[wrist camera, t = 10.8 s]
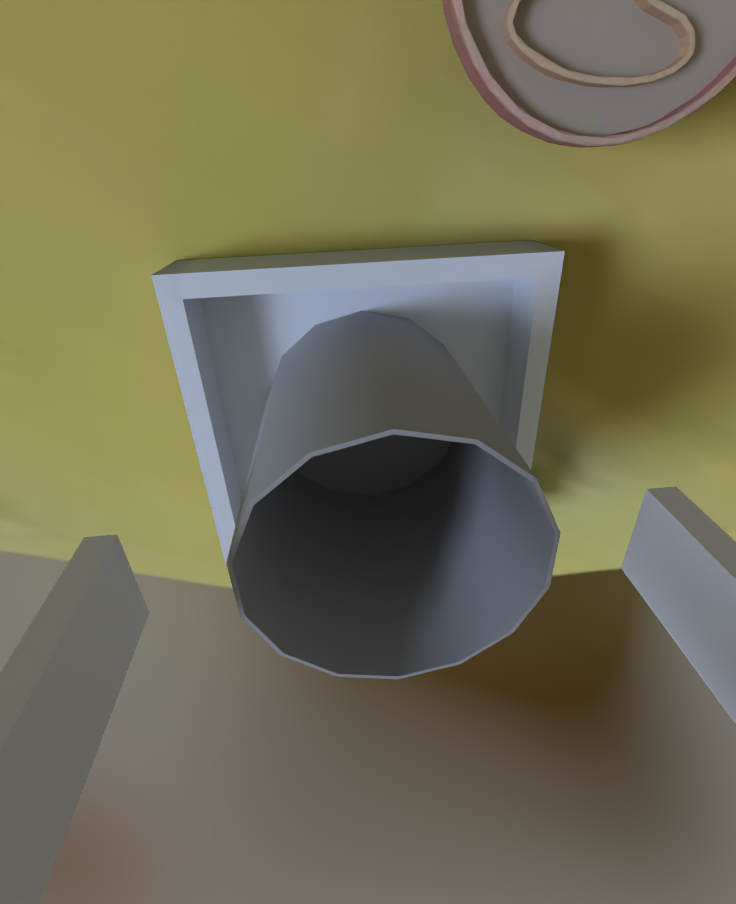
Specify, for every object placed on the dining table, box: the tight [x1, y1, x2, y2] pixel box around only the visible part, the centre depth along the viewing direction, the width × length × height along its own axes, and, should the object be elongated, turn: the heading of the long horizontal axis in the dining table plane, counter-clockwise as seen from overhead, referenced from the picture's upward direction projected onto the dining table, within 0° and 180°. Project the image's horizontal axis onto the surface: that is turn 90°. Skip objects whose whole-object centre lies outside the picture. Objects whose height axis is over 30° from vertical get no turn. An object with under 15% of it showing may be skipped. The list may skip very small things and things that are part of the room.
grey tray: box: [151, 240, 565, 566], centre depth 20 cm, size 13×14×3 cm
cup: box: [226, 311, 560, 679], centre depth 17 cm, size 8×8×10 cm
